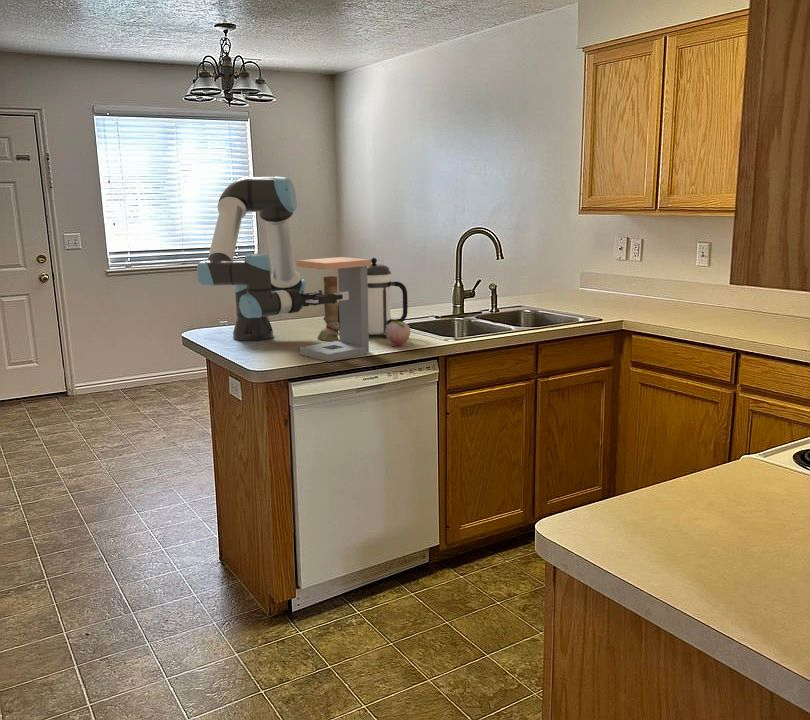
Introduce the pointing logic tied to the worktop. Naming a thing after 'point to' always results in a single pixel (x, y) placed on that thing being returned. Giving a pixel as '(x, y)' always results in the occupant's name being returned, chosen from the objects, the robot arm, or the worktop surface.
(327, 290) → the peg
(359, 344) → the socket
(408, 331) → the decorative fruit
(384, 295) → the coffee press
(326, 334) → the chocolate bunny
